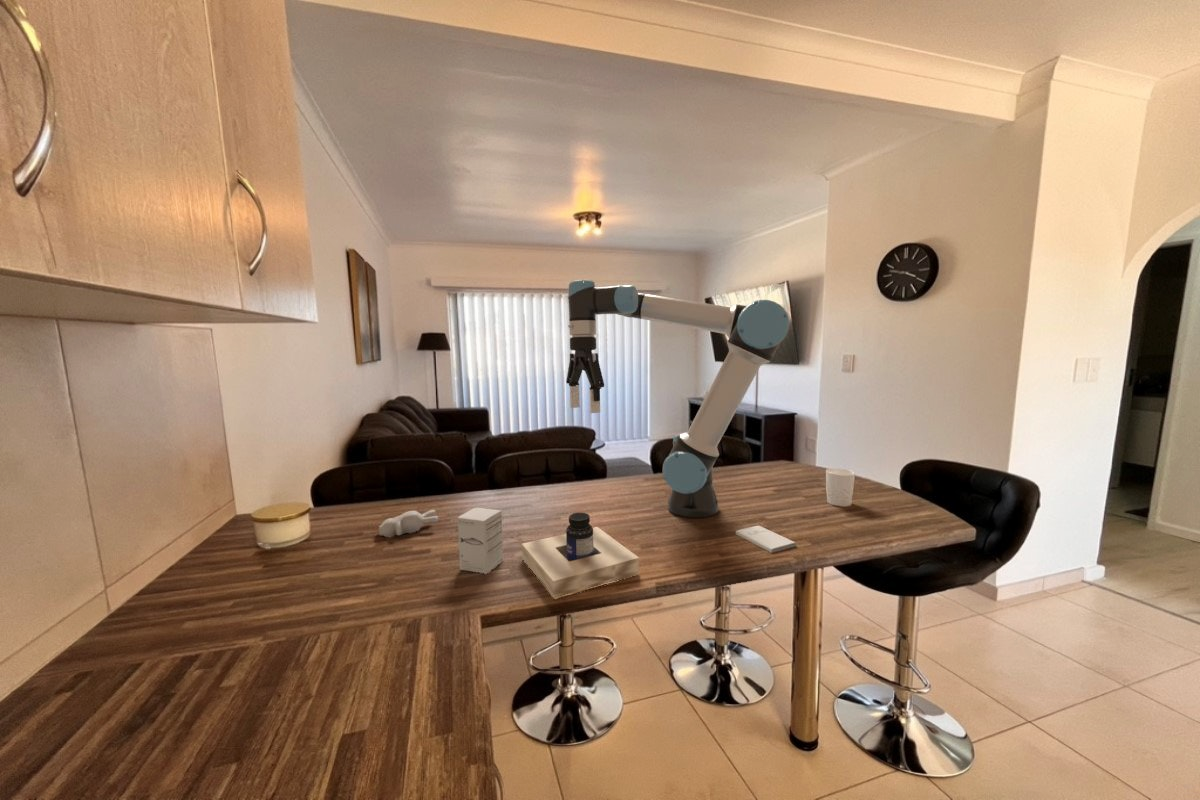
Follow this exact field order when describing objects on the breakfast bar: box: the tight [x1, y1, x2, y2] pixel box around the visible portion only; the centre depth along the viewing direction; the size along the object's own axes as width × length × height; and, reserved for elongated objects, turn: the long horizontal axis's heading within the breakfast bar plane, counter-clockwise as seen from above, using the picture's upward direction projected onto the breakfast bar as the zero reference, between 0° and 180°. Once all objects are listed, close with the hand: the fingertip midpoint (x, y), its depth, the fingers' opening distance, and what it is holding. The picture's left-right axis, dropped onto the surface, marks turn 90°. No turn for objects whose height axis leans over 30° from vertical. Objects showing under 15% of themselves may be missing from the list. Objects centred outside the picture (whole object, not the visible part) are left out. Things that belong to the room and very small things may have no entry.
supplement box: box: [457, 507, 504, 575], centre depth 104 cm, size 7×7×13 cm
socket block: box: [521, 526, 640, 599], centre depth 103 cm, size 20×20×4 cm
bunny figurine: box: [378, 509, 439, 538], centre depth 126 cm, size 10×5×15 cm
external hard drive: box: [735, 525, 797, 554], centre depth 115 cm, size 2×8×12 cm
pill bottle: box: [565, 512, 594, 562], centre depth 102 cm, size 6×6×11 cm
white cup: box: [825, 467, 856, 507], centre depth 140 cm, size 8×8×10 cm
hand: (584, 410), depth 132 cm, fingers open, 13 cm apart
